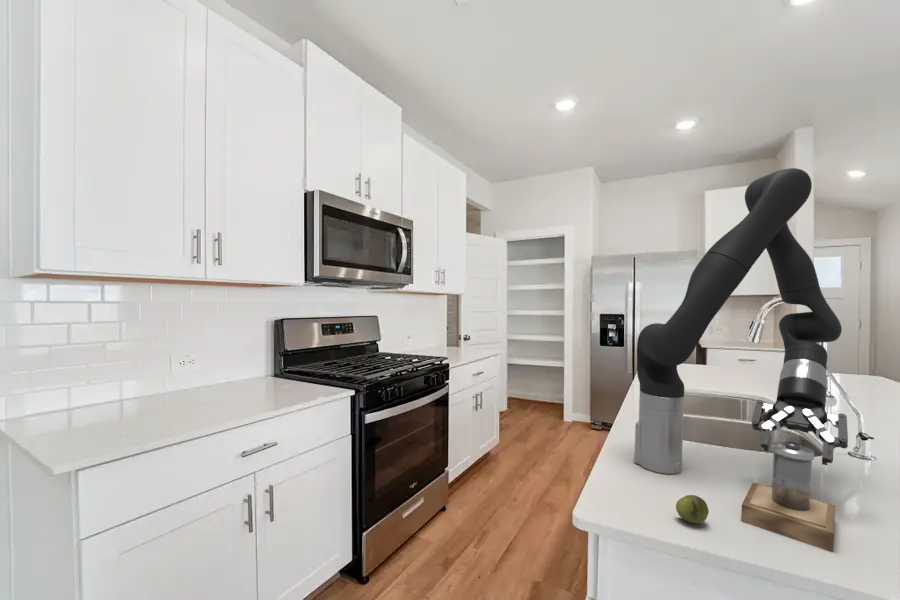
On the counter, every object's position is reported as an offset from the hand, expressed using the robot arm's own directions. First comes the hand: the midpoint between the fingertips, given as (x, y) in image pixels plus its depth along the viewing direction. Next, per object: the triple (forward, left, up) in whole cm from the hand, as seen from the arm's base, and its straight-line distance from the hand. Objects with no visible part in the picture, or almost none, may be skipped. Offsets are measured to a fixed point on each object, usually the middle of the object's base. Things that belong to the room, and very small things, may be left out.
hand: (794, 455), depth 77 cm
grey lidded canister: (0, -6, -7) cm, 9 cm away
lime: (-12, -19, -10) cm, 25 cm away
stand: (0, -6, -10) cm, 12 cm away
